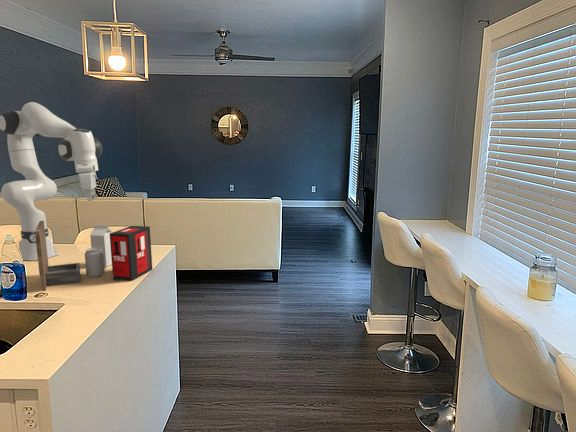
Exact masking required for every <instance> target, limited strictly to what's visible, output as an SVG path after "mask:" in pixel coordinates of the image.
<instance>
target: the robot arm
mask: <svg viewBox="0 0 576 432" xmlns="http://www.w3.org/2000/svg"><path fill="white" fill-rule="evenodd" d="M0 131H1V132H2V133H3V134H6V135H7V137H6V138H7V149H8V154H9V160H10V164H11V167H12V169H13V170H14V171H15V172H17V173H19V174H21V175H22V176H23V177H24V178H25V179H22V180H14V181H10V182H7V183H4V184H3V185H2V188H1V190H0V193H1V194H0V195H1V198H2V199H3V200H4V202H6V203H7V204H9V205H11V206H12V207H13V208H14V209H15V210H16V212H17V214H18V216H19V221H20V228H21V230H20V237H21V239H20V241H18V251H19V250H20V252H21V255H22V258H23V260H22V261H38V256H37V247H36V238H35V230H36V228H37V226H38V224H39V222H40V221H44V227H45V237H46V246H47V256H48V259H49V258H52V257H57V256H59V252H58V251H57V250H56V249H55V245H54V244H53V239H52V238H51V237H50V236H49V235H50V234H49V233H50V232H49V228H47V227H48V226H47V225H48V224H47V216H46V213H45V212H44V211H43V210H41V209H38V208H36V206H35V204H34V202H40V201H47V200H50V199H53V198H55V196H56V195H57V192H58V187H57V185H56V182H55V181H53V180H52V179H51V178H49V177H48V176H46V175H45V173H44V172H43V170H42V169H41V167H40V165H39V162H38V159H37V154H36V151H35V146H34V141H33V138H34V136H36V137H38V138H39V137H41V136H43V137H47V138H58V139H59V138H60V139H61V140H60V141H59V143H58V144H57V154H58V155H59V157H60V158H61V159H62V160H63V161H67V162H71V161H72V162H73V161H74V167H75V168H74V169H75V173H77V174H78V178H79V179H78V180H79V183H80V186H81V190H82V191H83V192H85V194H86V199H87V201H88V202H92V201H93V200H94V199H95V197H96V196H95V189H96V188H97V182H96V175H97V172H96V171H98V172H99V164H98V160H99V158H100V157H101V155H102V153H103V145H102V143H101V141H100V140H99V139H98V138H96V137H94V135H93V133H92V131H91V130H89V129H86V128H78V127H77V126H75V125H73V124H71V123H70V122H69V121H66V120H64V119H62V118H60V117H58V116H57V115H55V114H54V113H52V111H50V110H49V109H48V108H47V107H45V106H43V105H42V104H40V103H37V102H35V101H31V102H27V103H25V104H24V105H23V106H22V107H21V110H7V111H3V112H1V113H0Z"/></svg>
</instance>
